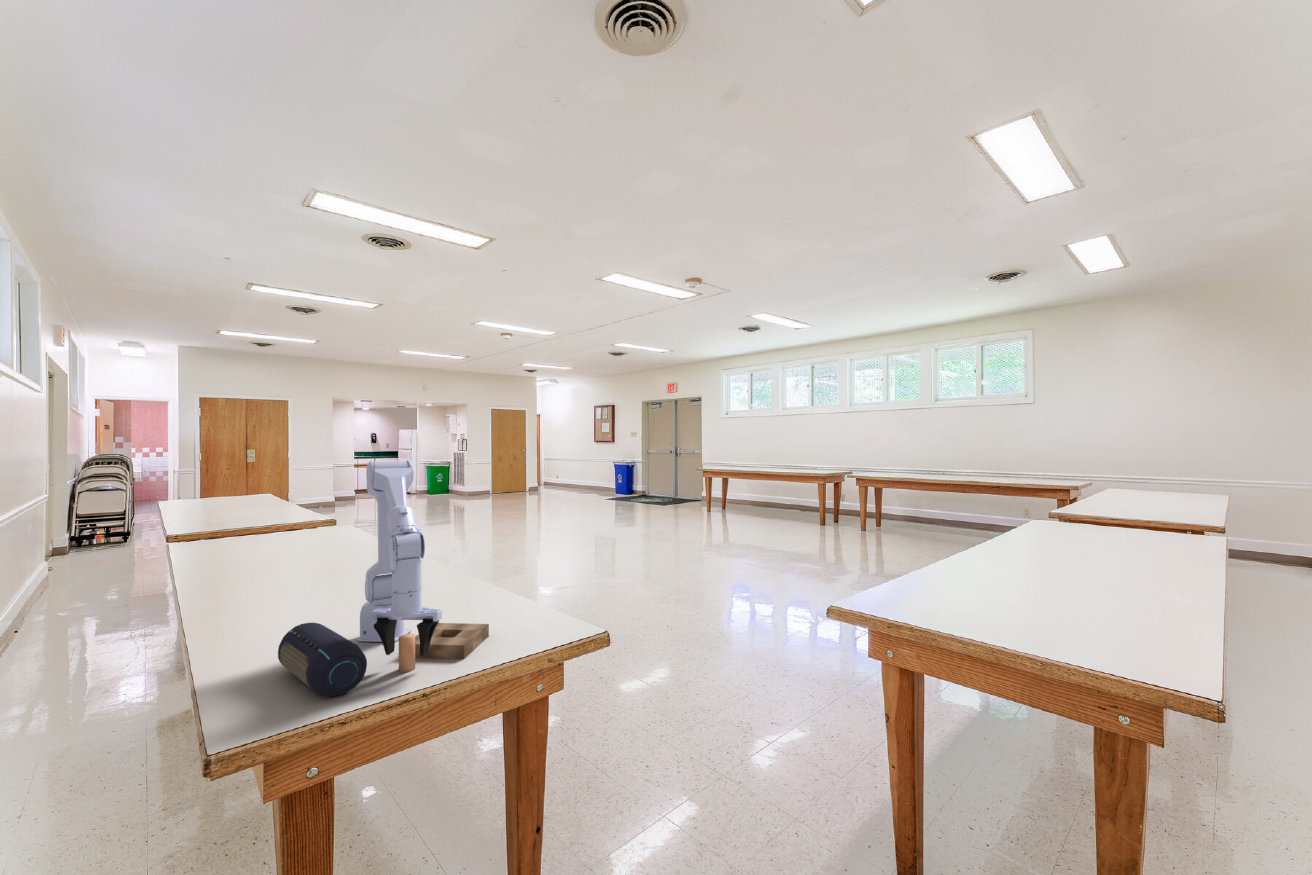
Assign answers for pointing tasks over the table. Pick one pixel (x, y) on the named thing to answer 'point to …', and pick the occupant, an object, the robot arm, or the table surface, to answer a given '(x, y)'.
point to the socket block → (453, 640)
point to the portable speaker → (322, 659)
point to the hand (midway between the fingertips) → (407, 653)
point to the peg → (406, 652)
